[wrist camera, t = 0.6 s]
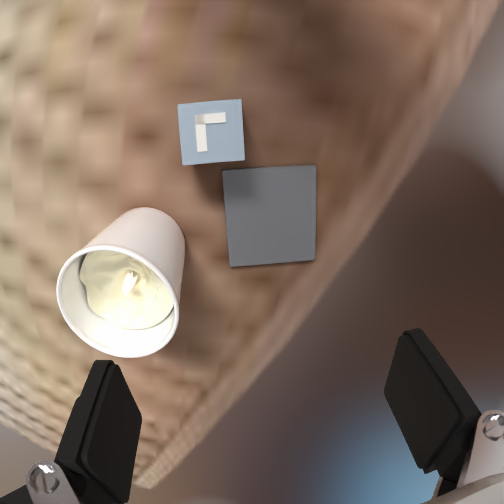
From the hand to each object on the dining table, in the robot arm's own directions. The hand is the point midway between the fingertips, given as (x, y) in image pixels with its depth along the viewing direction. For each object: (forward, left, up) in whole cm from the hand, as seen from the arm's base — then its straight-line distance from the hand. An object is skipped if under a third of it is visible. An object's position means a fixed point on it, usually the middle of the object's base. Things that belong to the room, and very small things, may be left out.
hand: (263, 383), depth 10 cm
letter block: (-7, -2, -24) cm, 25 cm away
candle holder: (+4, -10, -24) cm, 26 cm away
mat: (+2, +3, -24) cm, 24 cm away
